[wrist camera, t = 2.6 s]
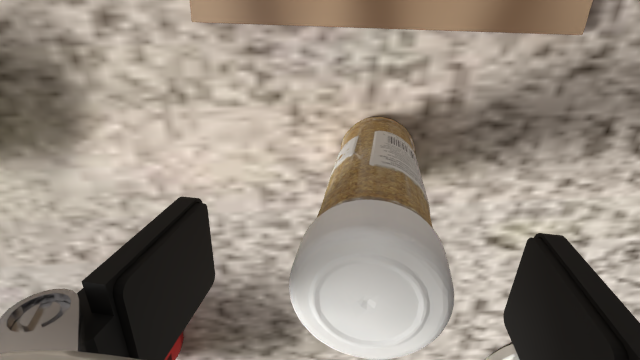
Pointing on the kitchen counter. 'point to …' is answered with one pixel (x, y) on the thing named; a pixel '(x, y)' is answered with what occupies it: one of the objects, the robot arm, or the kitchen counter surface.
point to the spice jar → (373, 252)
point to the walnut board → (404, 14)
